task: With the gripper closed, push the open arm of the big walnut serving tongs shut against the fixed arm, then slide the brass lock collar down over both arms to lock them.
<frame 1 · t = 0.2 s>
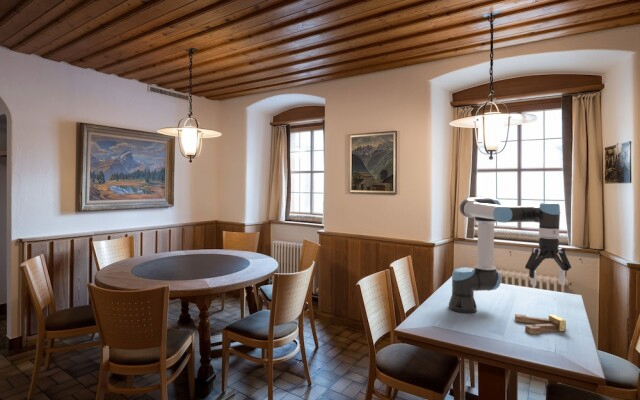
hand: (547, 284, 159), 27 cm above the table, fingers open, 13 cm apart
lock collar: (556, 323, 177), point 3 cm above the table, slide at 0.0 cm
tongs moving arm: (539, 321, 183), point 2 cm above the table, hinge at 30.0°
tongs fixed arm: (562, 328, 178), on the table
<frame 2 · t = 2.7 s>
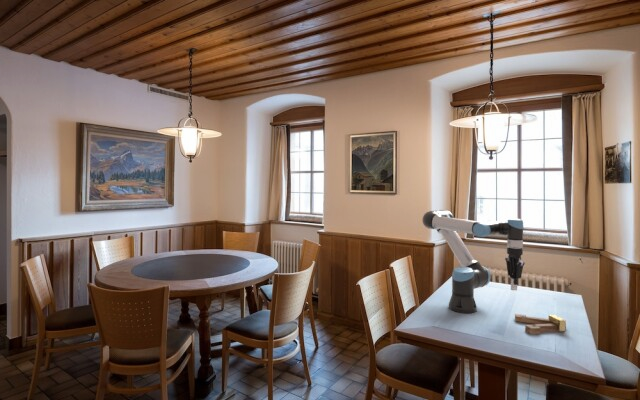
hand: (513, 289, 195), 14 cm above the table, fingers closed
nothing on the table moved.
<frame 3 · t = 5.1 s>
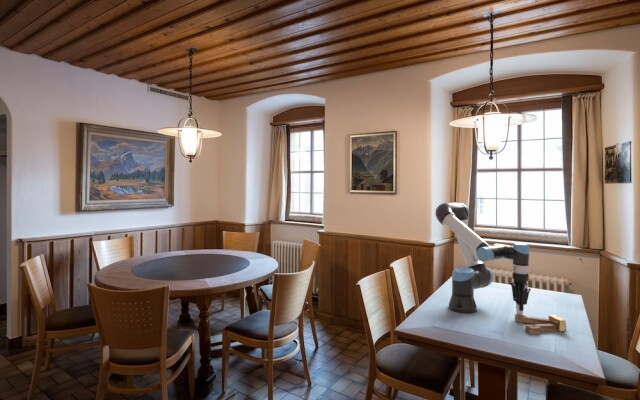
hand: (519, 315, 191), 2 cm above the table, fingers closed
tongs moving arm: (539, 321, 183), point 2 cm above the table, hinge at 29.3°, touching gripper
everything else where it was.
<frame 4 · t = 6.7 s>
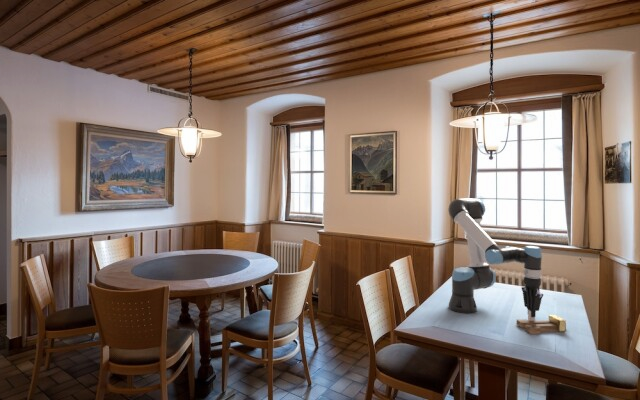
hand: (531, 322, 182), 2 cm above the table, fingers closed
tongs moving arm: (541, 324, 180), point 2 cm above the table, hinge at 5.8°, touching gripper
everything else where it was.
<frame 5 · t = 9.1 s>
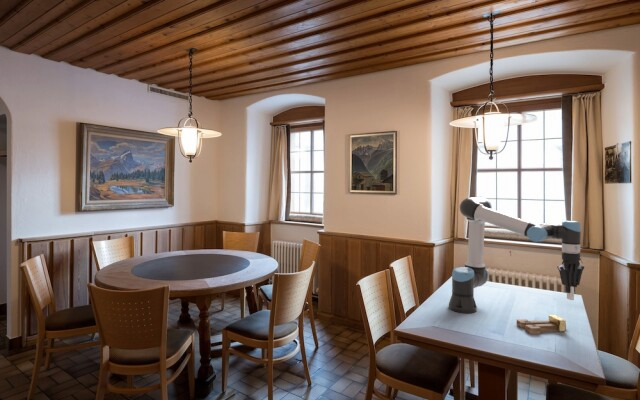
hand: (570, 299, 177), 15 cm above the table, fingers closed
tongs moving arm: (541, 324, 180), point 2 cm above the table, hinge at 5.8°
everything else where it was.
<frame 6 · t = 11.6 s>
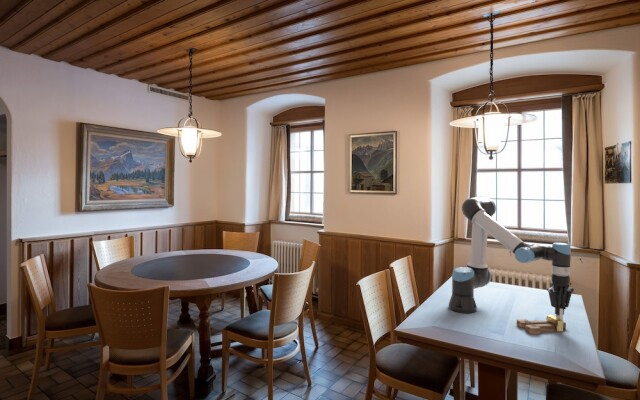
hand: (559, 321, 177), 4 cm above the table, fingers closed
lock collar: (554, 323, 177), point 3 cm above the table, slide at 1.2 cm, touching gripper
everything else where it was.
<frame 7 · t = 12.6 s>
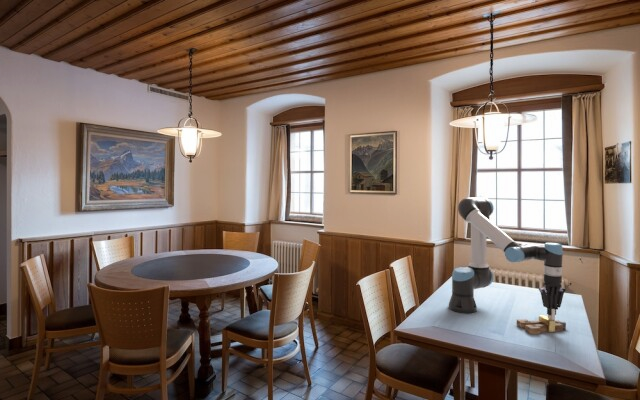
hand: (551, 321, 176), 4 cm above the table, fingers closed
lock collar: (546, 323, 176), point 3 cm above the table, slide at 5.5 cm, touching gripper
everything else where it was.
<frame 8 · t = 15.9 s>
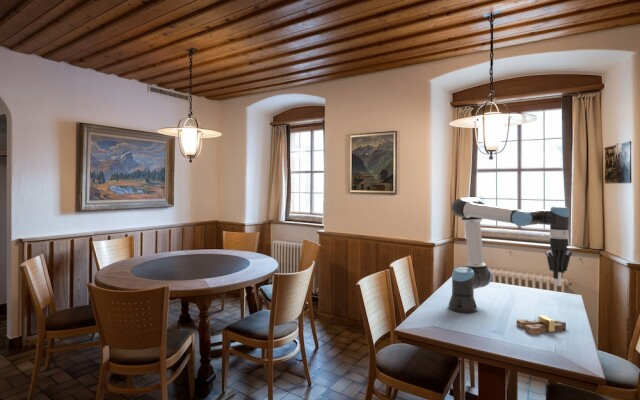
hand: (557, 285, 176), 22 cm above the table, fingers closed
lock collar: (546, 323, 176), point 3 cm above the table, slide at 5.7 cm
everything else where it was.
at the end: tongs moving arm at +6° (first picture: +30°); lock collar slide at 5.7 cm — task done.
